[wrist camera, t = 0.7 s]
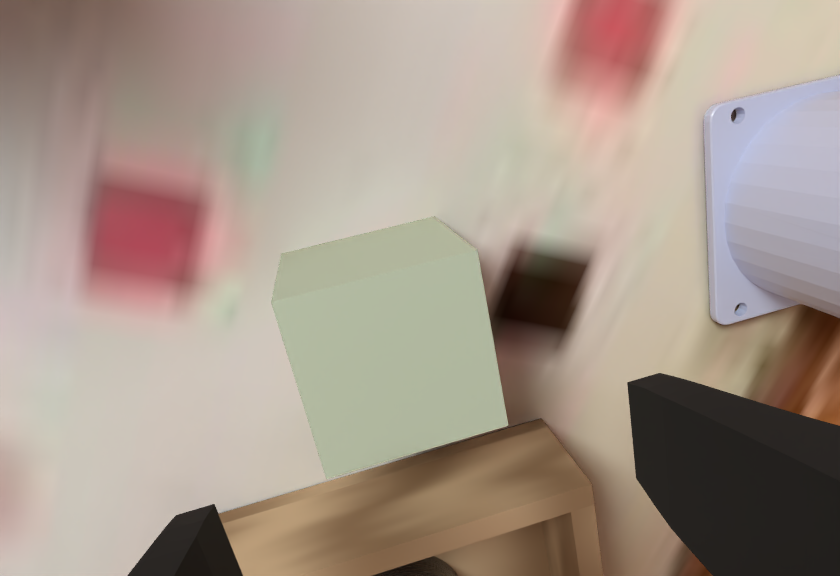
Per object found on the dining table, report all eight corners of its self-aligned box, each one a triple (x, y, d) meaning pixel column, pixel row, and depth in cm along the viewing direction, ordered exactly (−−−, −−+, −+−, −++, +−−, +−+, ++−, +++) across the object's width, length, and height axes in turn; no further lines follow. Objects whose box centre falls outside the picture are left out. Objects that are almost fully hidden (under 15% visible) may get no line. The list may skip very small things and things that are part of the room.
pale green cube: (433, 216, 18) (477, 249, 13) (460, 352, 20) (508, 425, 15) (281, 253, 17) (270, 302, 13) (322, 390, 19) (326, 479, 14)
